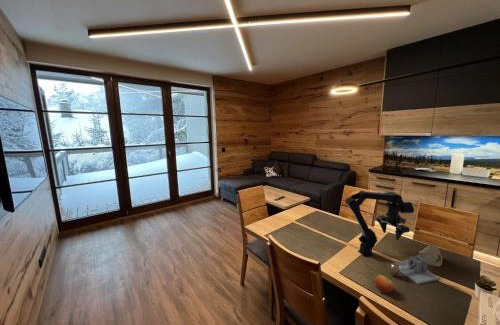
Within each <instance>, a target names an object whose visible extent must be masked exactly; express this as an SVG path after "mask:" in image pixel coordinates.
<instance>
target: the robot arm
mask: <svg viewBox="0 0 500 325" xmlns="http://www.w3.org/2000/svg"><path fill="white" fill-rule="evenodd" d="M366 200H374V201H375V200H376V201H377V200H378V201H385V203H384V206H386V207H387V212H386V213H385V215H383V214H382V215H377V216H376V221H377V222H378V224H379V226H380V228H381V230H382V232H383V234H386V232H387V225H391V226H392V227H395V230H394V232H395V240H396V241H399V240H400V239H401V236H402V235H403V234H405V233H406V234H407V233H410V231H411V229H410V227H409V226H407V225H405V224H406V222H407V218H404V217H402V216H401V215H400V214H413V213H414V212H415V208H414V205H413V203H412V202H410V201H404V200H403V197H402V195H401V194H398V193H396V192H394V191H386V192H375V191H365V190H360V191H359V192H357V193H355V194H352V195H351V196H349V197H347V198H346V199H345V200H344V202H345V205H346V206H347V207H348V209H350V211H351V212H352V214H353V216H354V217H355V219H356V221H357V223H358V225H359V227H360V229H361V234H362V235H361V236H359V238H358V240H359V242H360V244H359V250H357V252H358V253H360V254H361V255H362V256H363V257H366V258H368V257H373V256H374V254H373V249H374V248H375V245H377V242H378V236H377V234H376V233H375V232H374V231H373V229H372V228H370V227H369V226H368V223H367V222H366V220H365V218H364V215H363V214H362V212H361V206H362V204H363V203H364V202H365V201H366ZM399 213H400V214H399Z"/></svg>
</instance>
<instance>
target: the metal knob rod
mask: <svg viewBox="0 0 500 325" xmlns="http://www.w3.org/2000/svg"><path fill="white" fill-rule="evenodd" d="M413 267H416V263H413V264H408V265H403V266H399V265H398V264H396V263H395V262H390V271H389V274H390V275H392V276H394V277H398V276H399V272H400V271H399V270H403V269H408V268H413Z"/></svg>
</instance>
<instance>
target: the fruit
mask: <svg viewBox="0 0 500 325" xmlns="http://www.w3.org/2000/svg"><path fill="white" fill-rule="evenodd" d="M374 282H375V284H374V285H375V288H377V289H378V292H379V294H381V293H384V294H389V293H391V292H392V291H393V290H394V289H395V285H394V282H393V281H392V280H391V279H390V278H389V277H387V276H385V275H382V274H378V275H377V276H376V277H375V280H374Z"/></svg>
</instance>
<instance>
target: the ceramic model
mask: <svg viewBox="0 0 500 325" xmlns="http://www.w3.org/2000/svg"><path fill="white" fill-rule="evenodd" d="M418 256H420V257H422V258H423V259H425V260H427V261H428V264H427V265H430V266H433V267H441V266H442V264H443V255H442V254H441V251H440V249H439V248H438V246H436V244H434V243H431V244H430V245H428V246H426V247H425V248H423V249H421V250H419V251H418ZM419 261H420V260H419ZM421 262H422V261H421Z"/></svg>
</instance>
